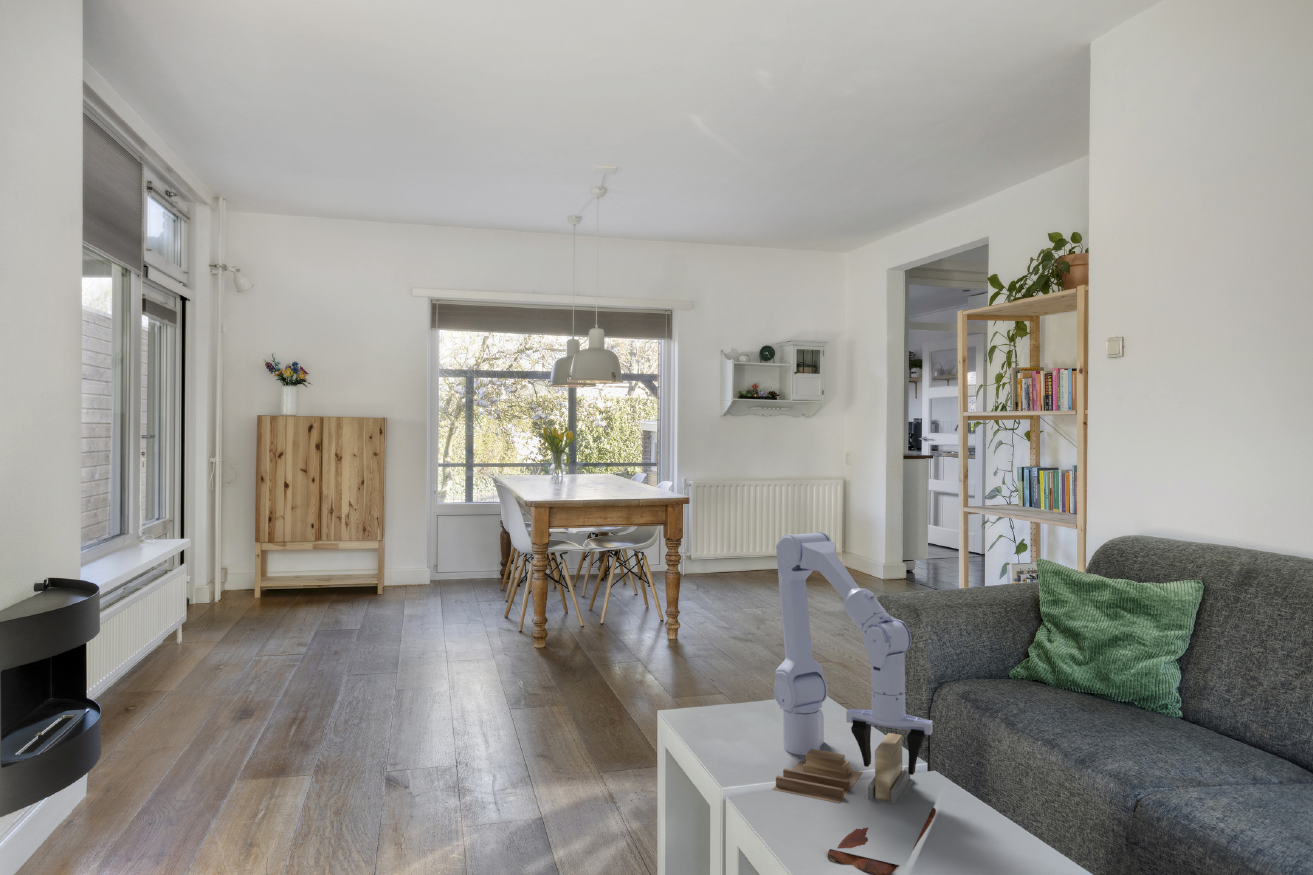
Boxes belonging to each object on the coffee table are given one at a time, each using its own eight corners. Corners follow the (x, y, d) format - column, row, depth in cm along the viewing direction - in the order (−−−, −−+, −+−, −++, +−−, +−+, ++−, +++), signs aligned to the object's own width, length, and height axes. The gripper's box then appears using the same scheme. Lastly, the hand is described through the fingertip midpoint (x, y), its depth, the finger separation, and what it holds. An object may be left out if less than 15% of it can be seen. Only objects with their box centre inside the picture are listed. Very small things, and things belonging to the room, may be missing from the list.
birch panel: (875, 797, 137) (874, 750, 137) (889, 777, 145) (888, 732, 146) (889, 800, 135) (889, 753, 136) (902, 779, 144) (901, 734, 144)
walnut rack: (800, 765, 154) (800, 752, 154) (863, 777, 148) (862, 763, 148) (772, 794, 141) (772, 780, 141) (839, 808, 135) (839, 793, 135)
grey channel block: (880, 778, 147) (880, 762, 147) (914, 784, 144) (914, 767, 144) (863, 803, 137) (863, 785, 137) (899, 810, 134) (899, 792, 134)
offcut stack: (808, 764, 152) (808, 748, 152) (850, 771, 148) (850, 755, 148) (802, 770, 149) (802, 754, 149) (845, 778, 145) (845, 761, 145)
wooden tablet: (889, 884, 112) (889, 872, 112) (822, 863, 118) (822, 851, 118) (945, 814, 134) (945, 804, 134) (887, 799, 140) (887, 789, 140)
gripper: (935, 690, 141) (936, 768, 141) (853, 679, 148) (854, 753, 148) (927, 701, 135) (929, 782, 134) (842, 689, 142) (843, 766, 141)
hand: (889, 768), depth 141 cm, fingers open, 7 cm apart
